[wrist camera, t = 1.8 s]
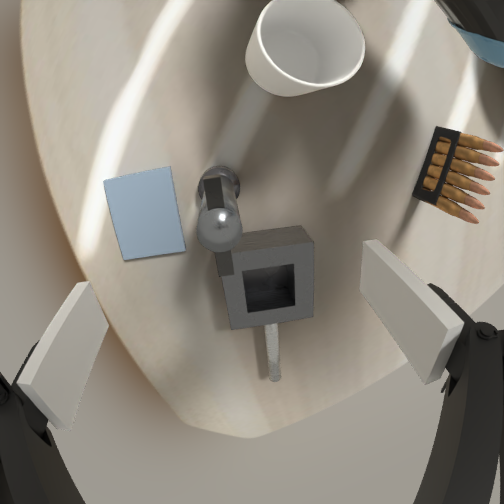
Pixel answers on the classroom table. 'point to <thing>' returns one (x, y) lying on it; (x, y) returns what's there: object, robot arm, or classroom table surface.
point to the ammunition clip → (454, 172)
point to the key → (219, 216)
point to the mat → (145, 213)
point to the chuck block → (271, 284)
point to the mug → (304, 46)
